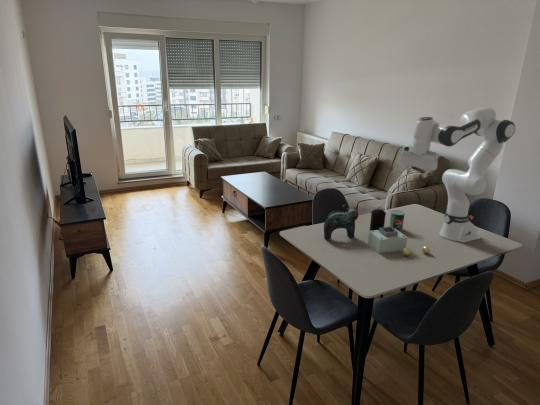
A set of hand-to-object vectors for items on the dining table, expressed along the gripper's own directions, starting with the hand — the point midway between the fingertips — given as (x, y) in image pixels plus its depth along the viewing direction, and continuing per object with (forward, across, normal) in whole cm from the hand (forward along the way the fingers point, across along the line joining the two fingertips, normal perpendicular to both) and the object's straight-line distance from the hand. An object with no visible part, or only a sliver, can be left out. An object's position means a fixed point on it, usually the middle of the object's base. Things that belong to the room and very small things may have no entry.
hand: (416, 175), depth 198 cm
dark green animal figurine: (+41, +26, +25) cm, 54 cm away
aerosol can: (+40, +14, +8) cm, 43 cm away
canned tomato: (+40, +17, -13) cm, 45 cm away
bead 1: (+40, -9, +12) cm, 43 cm away
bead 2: (+40, -13, 0) cm, 42 cm away
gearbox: (+40, +3, +12) cm, 42 cm away
